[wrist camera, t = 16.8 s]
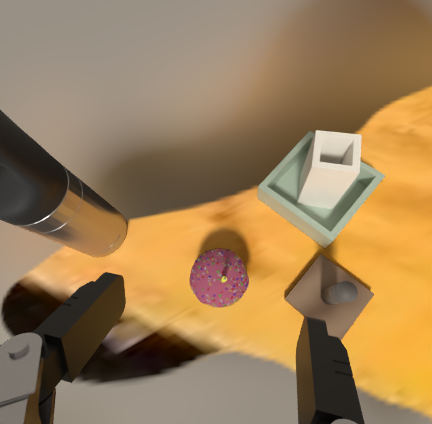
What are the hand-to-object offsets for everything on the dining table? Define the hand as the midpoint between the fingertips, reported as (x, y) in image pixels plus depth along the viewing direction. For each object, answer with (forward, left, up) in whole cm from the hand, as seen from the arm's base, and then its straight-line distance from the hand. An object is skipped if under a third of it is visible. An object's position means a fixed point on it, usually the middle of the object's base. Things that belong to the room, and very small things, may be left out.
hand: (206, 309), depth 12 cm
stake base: (+8, +11, -32) cm, 35 cm away
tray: (-3, +24, -32) cm, 41 cm away
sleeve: (-3, +24, -31) cm, 40 cm away
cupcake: (-5, +2, -32) cm, 33 cm away
